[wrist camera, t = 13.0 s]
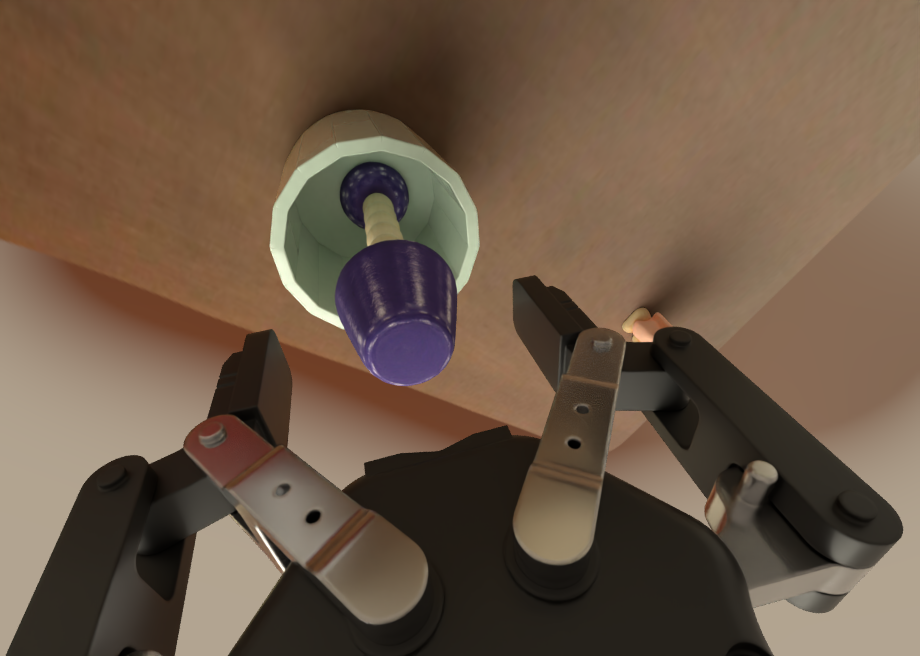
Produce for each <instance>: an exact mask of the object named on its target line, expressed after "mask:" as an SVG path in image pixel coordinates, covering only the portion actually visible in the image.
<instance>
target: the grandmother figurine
mask: <svg viewBox="0 0 920 656" xmlns="http://www.w3.org/2000/svg"><path fill="white" fill-rule="evenodd" d="M665 327H673V326H672V325H671V324H670V323H669V322H668V321H667V320H666V319H665V318H664V317H663V316H662V315H661V314H660V313H655V314H654V316H653V317H652V318H651V315H650V313H649V311H648V310H647V309H646V308H639V309H637V310H636V311H634V312H633V313H632V314H631V315H630V317H629V318H628V319H627V320H626V321H625V322H624V323H623V326H622V328H623V330H624V331H625V332H627V333H633V334H634V336H633V338H632V340H633V342H653V337H654V334H655V332H656V331H658V330H659V329H662V328H665Z"/></svg>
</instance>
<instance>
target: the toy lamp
mask: <svg viewBox="0 0 920 656" xmlns="http://www.w3.org/2000/svg"><path fill="white" fill-rule="evenodd" d="M340 202H341V206H342V209H343V211H344V213H345V214H346V216H347V217H348V218H349V219H350V220H351V221H352V222H353V223H354V224H356V225H357V226H358V227H360V228H362V229H365V232H366V235H367V246H368V247H366V248H364V249H362V250H361V251H360V252H358V253H357V254H355V255H354V256H353V257H352V258H351V259H350V260H349V261H348V262H347V263H346V264H345V266H344V267H343V269H342V270H341V272H340V275H339V277H338V280H337V284H336V289H335V305H336V309H337V313H338V316H339V318H340V321H341V323H342V325H343V327H344V329H345V331H346V333H347V335H348V337H349V339H350V340H351V342H352V344H353V346H354V348H355V349H356V351H357V353H358V355H359V356H360V358H361V360H362V362H363V363H364V365H365V366H366V367H367V369H368V370H369V371H370V372H371V373H372V374H373V375H374V376H376V377H377V378H379V379H380V380H382V381H384V382H386V383H389V384H393V385H399V386H410V385H416V384H420V383H423V382H426V381H428V380H430V379H431V378H433V377H435V376H436V375H438V374H439V373H440V372H441V371H442V370H443V369H444V368H445V367H446V365H447V364H448V362H449V360H450V359H451V356H452V353H453V351H454V346H455V335H456V319H457V315H456V314H457V287H456V282H455V278H454V276H453V273H452V271H451V269H450V267H449V266H448V264H447V263H446V261H445V260H444V259H443V258H442V257H441V256H440V255H439V254H438V253H437V252H435V251H434V250H433V249H431V248H429V247H427V246H426V245H423V244H420V243H418V242H415V241H409V240H403V236H402V234H401V232H400V226H399V222H400V221H401V219H402V218H403V217H404V215H405V213H406V211H407V208H408V203H409V193H408V188H407V185H406V183H405V180H404V179H403V177H402V176H401V175H400V173H399V172H397V171H396V170H395V169H394V168H392V167H390V166H388V165H386V164H383V163H380V162H365V163H362V164H360V165H358V166H356V167H354V168H353V169H352V170H350V171H349V172H348V173H347V174H346V176H345V177H344V179H343V181H342V184H341V188H340Z"/></svg>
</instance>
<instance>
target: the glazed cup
mask: <svg viewBox="0 0 920 656" xmlns="http://www.w3.org/2000/svg"><path fill="white" fill-rule="evenodd" d="M365 162H380V163H383V164H386V165H388V166H390V167H392V168H394V169H395V170H396V171H397V172H399V173H400V175H401V176H402V177H403V179H404V180H405V183H406V185H407V188H408V193H409V203H408V208H407V211H406V213H405V215H404V217H403V218H402V219H401V221H400V222H399V226H400V232H401V234H402V236H403V240H409V241H415V242H418V243H420V244H423V245H426V246H427V247H429V248H431V249H433V250H434V251H435V252H437V253H438V254H439V255H440V256H441V257H442V258H443V259H444V260H445V261H446V263H447V264H448V266H449V267H450V269H451V271H452V273H453V276H454V278H455V282H456V287H457V294H458V293H459V292H460V290H461V289H462V288H463V287H464V285H465V284H466V283H467V282H468V280H469V277H470V274H471V271H472V268H473V265H474V262H475V259H476V256H477V253H478V250H479V246H480V244H479V229H478V215H477V210H476V206H475V204H474V203H473V201H472V199H471V197H470V195H469V193H468V191H467V189H466V187H465V185H464V183H463V181H462V179H461V177H460V176H459V175H458V173H457V172H456V171H455V170H454V169H453V168H452V167H451V166H450V165H449V164H448V163H447V162H446V161H445V160H444V159H443V158H442V157H441V156H440V155H439V154H438V153H437V152H436V151H435V150H434V149H433V148H431V147H430V146H429V145H428V144H427V143H426V142H425V141H424V140H423V139H422V138H421V137H420V136H418V135H417V134H416V133H415V132H414V131H412V130H411V129H410V128H409V127H408V126H406V125H405V124H404V123H403V122H401V121H400V120H398V119H396V118H393V117H391V116H389V115H386V114H383V113H380V112H376V111H371V110H361V109H357V110H346V111H341V112H337V113H334V114H331V115H329V116H326V117H324V118H322V119H321V120H319V121H317V122H316V123H314V124H313V125H312V126H311V127H309V128H308V129H307V130H306V131H305V132H304V133H303V134H302V135H301V137H300V138H299V139H298V141H297V142H296V144H295V145H294V147H293V149H292V151H291V153H290V155H289V157H288V159H287V160H286V163H285V166H284V170H283V173H282V177H281V180H280V184H279V188H278V191H277V195H276V198H275V202H274V205H273V213H272V224H271V235H270V250H271V253H272V256H273V259H274V261H275V264H276V267H277V269H278V272H279V275H280V277H281V280H282V283H283V285H284V286H285V287H286V289H287V290H288V291H289V292H290V293H291V294H292V295H293V296H294V297H295V298H296V299H297V300H298V301H299V302H300V303H301V304H302V305H303V306H304V307H305V309H306V310H307V311H308V312H309V313H311V314H312V315H314V316H316V317H319V318H321V319H323V320H325V321H327V322H329V323H331V324H333V325H335V326H337V327H340V328H342V329H344V327H343V325H342V323H341V321H340V318H339V316H338V313H337V309H336V305H335V289H336V284H337V280H338V277H339V275H340V272H341V270H342V269H343V267H344V266H345V264H346V263H347V262H348V261H349V260H350V259H351V258H352V257H353V256H354V255H355V254H357V253H358V252H360V251H361V250H362V249H364V248H366V247H368V246H367V235H366V232H365V229H362V228H360V227H358V226H357V225H356V224H354V223H353V222H352V221H351V220H350V219H349V218H348V217H347V216H346V214H345V213H344V211H343V209H342V206H341V202H340V188H341V184H342V181H343V179H344V177H345V176H346V174H347V173H348V172H349V171H350V170H352V169H353V168H354V167H356V166H358V165H360V164H362V163H365Z"/></svg>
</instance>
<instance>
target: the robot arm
mask: <svg viewBox="0 0 920 656" xmlns="http://www.w3.org/2000/svg"><path fill="white" fill-rule="evenodd" d="M513 321H514V326H515V329H516V332H517V334H518V335H519V337H520V338H521V340H522V342H523V343H524V345H525V346H526V348H527V349H528V351H529V352H530V354H531V355H532V357H533V359H534V360H535V362H536V363H537V365H538V366H539V368H540V369H541V371H542V372H543V374H544V375H545V377H546V379H547V380H548V382H549V383H550V385H551V386H552V388H553V389H554V391H555V392H556V394H555V397H554V401H553V404H552V407H551V410H550V413H549V416H548V419H547V422H546V425H545V428H544V431H543V434H542V438H541V439H538V438H534V437H529V436H518V435H511V433H510V431H509V429H508V426H507V425H506V426H502V427H498V428H495V429H491V430H487V431H484V432H480V433H476V434H472V435H471V436H469V437H467V438H465V439H463V440H461V441H459V442H457V443H455V444H453V445H451V446H449V447H447V448H445V449H443V450H441V451H435V452H417V453H400V454H396V455H393V456H388V457H385V458H381V459H377V460H374V461H370V462H366V463H364V466H365V475H364V476H362V477H360V478H358V479H357V480H355V481H354V482H352V483H351V484H349V485H348V486H347V487H345V489H343V490H342V491H341V490H340V489H339V488H337V487H336V486H335V485H334V484H332V483H331V482H330V481H329V480H327V479H326V478H325V477H324V476H322V475H321V474H320V473H318V472H317V471H316V470H315V469H313V468H312V467H311V466H310V465H308V464H307V463H306V462H305V461H303V460H302V459H301V458H299V457H298V456H297V455H296V454H294V453H293V452H292V451H291V450H289V449H288V448H287V444H288V432H289V420H290V408H291V395H292V377H291V372H290V368H289V366H288V363H287V361H286V358H285V356H284V353H283V351H282V348H281V346H280V343H279V341H278V338H277V336H276V334H275V332H274V331H273V330H272V329H270V330H265V331H261V332H256V333H251V334H248V335H247V336H246V339H245V343H244V347H243V351H241V352H237V353H233V354H232V355H231V356H230V357H229V358H228V360H227V361H226V362H225V363H224V365H223V367H222V369H221V373H220V376H219V377H220V379H219V380H218V383H217V389H216V390H215V393H214V397H213V400H212V404H211V407H210V410H209V414H208V417H207V420H205V421H203V422H202V423H200V424H199V425H197V426H196V427H195V428H194V429H192V430H191V432H190V433H189V434H188V435H187V437H186V439H185V441H184V445H183V446H184V447H183V448H182V449H180V450H179V451H177V452H175V453H173V454H170V455H168V456H166V457H164V458H162V459H160V460H157V461H155V462H153V463H151V464H148V462H147V461H146V460H145V459H144V458H143V457H141V456H138V455H130V456H124V457H121V458H118V459H115V460H113V461H111V462H109V463H107V464H106V465H104V466H102V467H101V468H99V469H98V470H97V471H95V472H94V473H93V474H92V475H91V476H90V477H89V478H88V479H87V481H86V482H85V483H84V484H83V486H82V488H81V490H80V492H79V494H78V497H77V499H76V501H75V503H74V505H73V508H72V510H71V512H70V514H69V516H68V519H67V521H66V523H65V525H64V528H63V530H62V532H61V534H60V537H59V539H58V541H57V543H56V545H55V548H54V550H53V552H52V554H51V557H50V559H49V561H48V563H47V565H46V568H45V570H44V572H43V574H42V576H41V578H40V581H39V583H38V585H37V587H36V590H35V592H34V594H33V596H32V598H31V601H30V603H29V605H28V607H27V610H26V612H25V614H24V616H23V618H22V621H21V623H20V625H19V627H18V630H17V632H16V634H15V636H14V638H13V641H12V643H11V645H10V647H9V649H8V652H7V654H6V656H175V651H176V645H177V640H178V634H179V628H180V623H181V617H182V612H183V606H184V601H185V595H186V590H187V584H188V578H189V573H190V567H191V562H192V556H193V550H194V545H195V539H196V533H197V532H198V531H199V530H201V529H203V528H205V527H207V526H209V525H210V524H212V523H214V522H216V521H218V520H219V519H221V518H223V517H225V516H227V515H229V516H230V517H231V518H232V519H233V520H234V521H235V522H236V523H237V524H238V525H239V526H240V527H241V528H242V529H243V531H244V532H245V533H246V534H247V535H248V536H249V537H250V538H251V539H252V540H253V541H254V542H255V543H256V545H258V547H259V548H260V549H261V550H262V551H263V552H264V553H265V554H266V555H267V556H268V558H269V559H270V560H271V561H272V563H273V564H274V565H275V567H276V568H277V569H278V570H279V571H280V573H281V574H282V576H281V577H280V579H279V580H278V582H277V583H276V585H275V586H274V588H273V589H272V591H271V592H270V594H269V595H268V597H267V598H266V600H265V601H264V603H263V604H262V606H261V607H260V609H259V611H258V612H257V613H256V615H255V616H254V618H253V619H252V621H251V622H250V624H249V625H248V627H247V628H246V630H245V631H244V632H243V634H242V635H241V637H240V638H239V640H238V641H237V643H236V644H235V646H234V647H233V649H232V650H231V652H230V653H229V655H228V656H774V655H773V654H772V652H771V650H770V648H769V646H768V644H767V642H766V640H765V638H764V636H763V634H762V631H761V629H760V627H759V624H758V622H757V619H756V616H755V613H754V610H753V608H756V607H759V606H763V605H766V604H770V603H773V602H777V601H780V600H784V599H785V600H787V601H788V602H789V603H791V604H793V605H794V606H796V607H798V608H800V609H803V610H805V611H809V612H813V613H825V612H829V611H831V610H832V609H834V607H835V606H836V605H837V604H838V603H839V602H840V601H841V600H842V599H843V598H844V597H845V596H846V595H847V594H848V592H850V590H851V589H852V588H853V587H854V586H855V585H856V584H857V583H858V582H859V581H860V580H861V579H862V578H863V577H864V576H865V575H866V574H867V573H868V572H869V571H870V569H872V567H873V566H874V565H875V564H876V563H877V562H878V561H879V560H880V559H881V558H882V557H883V556H884V555H885V554H886V553H887V552H888V551H889V550H890V548H892V546H893V545H894V544H895V543H896V542H897V541H898V540H899V539H900V538H901V536H902V534H903V526H902V522H901V520H900V517H899V516H898V514H897V513H896V511H895V510H894V509H893V508H892V506H891V505H890V504H889V503H887V501H886V500H884V499H883V498H882V497H881V496H880V495H879V494H877V492H875V491H874V490H873V489H872V488H871V487H870V486H869V485H868V484H866V483H865V482H864V481H863V480H862V479H861V478H860V477H858V476H857V475H856V474H855V473H854V472H853V471H852V470H851V469H850V468H848V467H847V466H846V465H845V464H844V463H843V462H842V461H841V460H839V459H838V458H837V457H836V456H835V455H834V454H833V453H832V452H831V451H829V450H828V449H827V448H826V447H825V446H824V445H823V444H821V443H820V442H819V441H818V440H817V439H816V438H815V437H814V436H812V435H811V434H810V433H809V432H808V431H807V430H806V429H805V428H804V427H802V426H801V425H800V424H799V423H798V422H797V421H796V420H795V419H794V418H792V417H791V416H790V415H789V414H788V413H787V412H786V411H784V410H783V409H782V408H781V407H780V406H779V405H778V404H777V403H776V402H774V401H773V400H772V399H771V398H770V397H769V396H768V395H767V394H765V393H764V392H763V391H762V390H761V389H760V388H759V387H758V386H756V385H755V384H754V383H753V382H752V381H751V380H750V379H748V378H747V377H746V376H745V375H744V374H743V373H742V372H741V371H739V370H738V369H737V368H736V367H735V366H734V365H733V364H732V363H731V362H730V361H728V360H727V359H726V358H725V357H724V356H723V355H722V354H721V353H719V352H718V351H717V350H716V349H715V348H714V347H713V346H712V345H710V344H709V343H708V342H707V341H706V340H705V339H704V338H703V337H701V336H700V335H699V334H697V333H696V332H694V331H692V330H689V329H686V328H681V327H665V328H662V329H659V330H658V331H656V332H655V334H654V337H653V342H626V341H625V339H624V338H623V337H622V336H621V335H620V334H619V333H617V332H615V331H613V330H610V329H606V328H598V327H597V326H596V325H595V324H594V323H593V322H592V321H591V320H590V319H589V318H588V317H587V316H586V314H585V313H584V312H583V311H582V310H581V309H580V308H578V306H577V305H576V304H575V303H574V302H572V299H571V298H570V297H569V296H568V295H567V294H566V293H565V292H564V291H562V290H560V289H558V288H556V287H553V286H549V287H546V286H545V285H544V284H543V283H542V282H541V281H540V279H539V278H538V277H537V276H535V275H534V276H529V277H524V278H519V279H515V280H514V281H513ZM615 411H642V413H643V414H644V415H645V417H646V418H647V419H648V421H649V422H650V423H651V425H652V426H653V427H654V428H655V430H656V431H657V433H658V434H659V435H660V437H661V438H662V439H663V441H664V442H665V443H666V445H667V446H668V447H669V449H670V450H671V451H672V453H673V454H674V456H675V457H676V458H677V460H678V461H679V462H680V463H681V465H682V466H683V468H684V469H685V470H686V472H687V473H688V474H689V475H690V477H691V478H692V479H693V481H694V482H695V484H696V485H697V486H698V488H699V489H700V490H701V492H702V493H703V494H704V496H705V497H706V498H707V502H706V505H705V511H704V512H705V517H706V520H707V522H708V524H709V526H710V528H711V529H710V528H708V527H707V526H706V525H704V524H703V523H702V522H700V521H699V520H697V519H695V518H693V517H692V516H690V515H688V514H686V513H684V512H682V511H680V510H679V509H677V508H675V507H673V506H671V505H669V504H667V503H665V502H663V501H661V500H659V499H657V498H655V497H654V496H652V495H650V494H648V493H646V492H644V491H642V490H640V489H638V488H636V487H634V486H633V485H631V484H628V483H627V482H625V481H623V480H621V479H619V478H617V477H615V476H613V475H611V474H610V473H607V472H606V471H605V467H606V461H607V456H608V450H609V444H610V438H611V432H612V426H613V420H614V414H615Z"/></svg>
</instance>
